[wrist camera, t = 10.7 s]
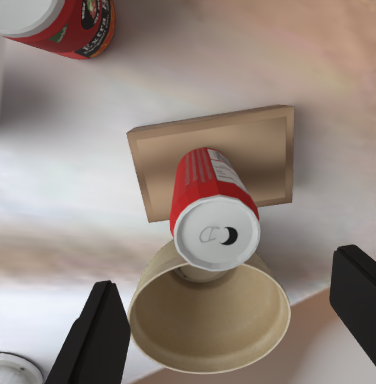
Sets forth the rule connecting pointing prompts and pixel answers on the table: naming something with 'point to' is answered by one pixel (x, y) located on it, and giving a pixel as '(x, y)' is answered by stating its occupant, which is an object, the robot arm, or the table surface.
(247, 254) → the soda can
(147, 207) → the wooden tray
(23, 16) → the canned food
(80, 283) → the table surface
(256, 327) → the planter bowl
